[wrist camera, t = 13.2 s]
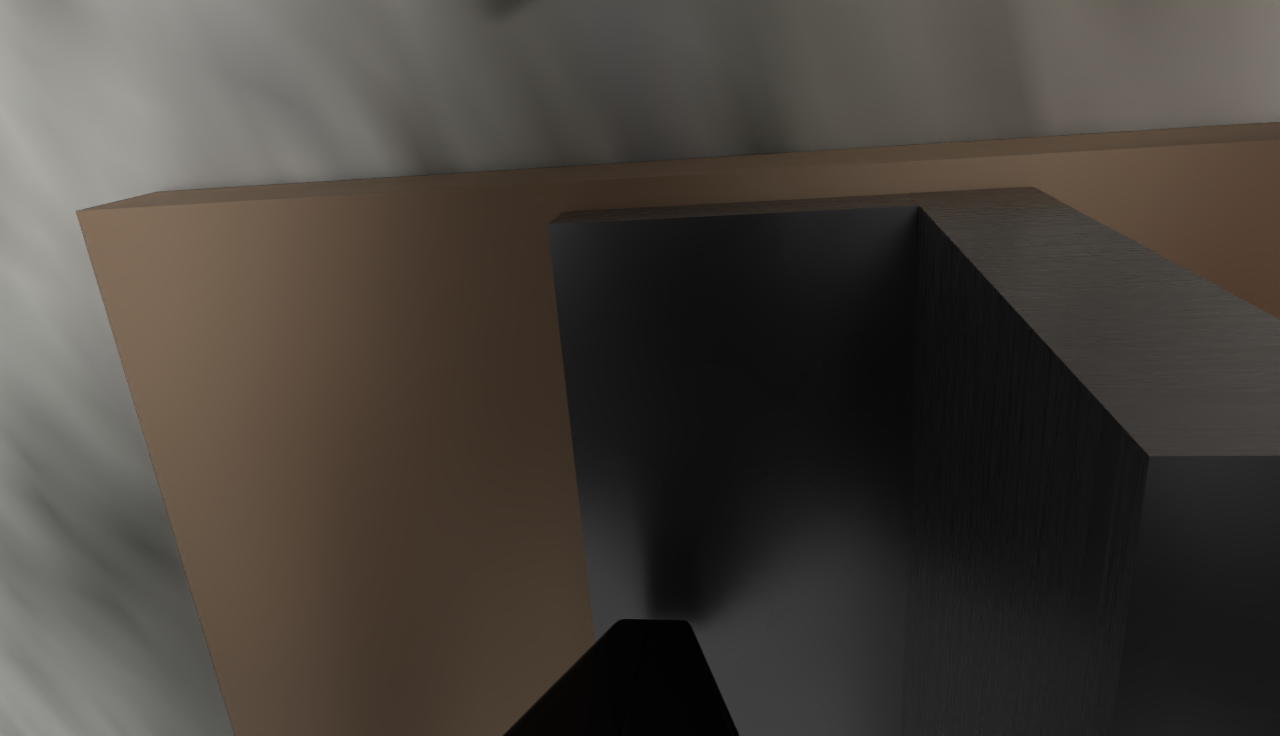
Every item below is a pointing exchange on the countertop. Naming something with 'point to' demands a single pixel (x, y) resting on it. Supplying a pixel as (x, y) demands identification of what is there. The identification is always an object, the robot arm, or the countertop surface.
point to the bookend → (928, 464)
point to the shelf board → (483, 394)
